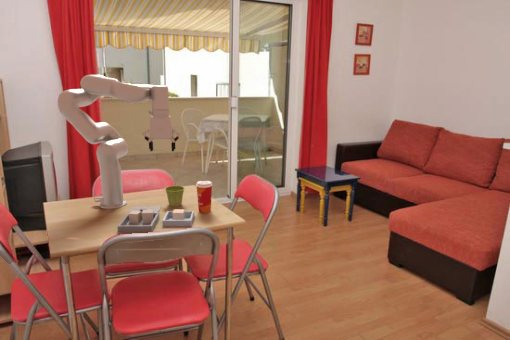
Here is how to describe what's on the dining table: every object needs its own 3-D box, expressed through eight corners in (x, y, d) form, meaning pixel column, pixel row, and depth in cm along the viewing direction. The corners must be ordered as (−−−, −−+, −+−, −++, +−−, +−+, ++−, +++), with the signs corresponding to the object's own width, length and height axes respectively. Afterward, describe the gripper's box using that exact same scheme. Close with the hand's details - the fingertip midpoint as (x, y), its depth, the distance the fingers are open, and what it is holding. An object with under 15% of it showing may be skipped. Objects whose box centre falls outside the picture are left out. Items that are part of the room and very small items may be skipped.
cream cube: (172, 222, 172) (172, 212, 171) (174, 219, 176) (174, 209, 175) (183, 222, 172) (183, 212, 171) (184, 219, 176) (184, 209, 175)
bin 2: (162, 227, 168) (162, 220, 168) (167, 217, 180) (167, 211, 179) (191, 227, 169) (191, 220, 168) (194, 217, 181) (194, 210, 180)
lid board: (124, 218, 178) (124, 214, 178) (132, 208, 192) (132, 204, 191) (155, 218, 179) (155, 214, 178) (161, 207, 192) (161, 204, 192)
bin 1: (118, 233, 162) (117, 226, 161) (128, 219, 177) (128, 212, 177) (152, 233, 162) (151, 226, 162) (159, 219, 178) (159, 212, 177)
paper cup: (197, 208, 192) (196, 180, 189) (213, 208, 193) (212, 180, 189) (196, 214, 184) (195, 184, 181) (212, 213, 185) (212, 184, 182)
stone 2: (142, 223, 171) (142, 213, 170) (143, 219, 175) (142, 209, 174) (153, 222, 172) (152, 212, 171) (154, 218, 176) (153, 209, 175)
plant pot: (187, 202, 201) (186, 185, 199) (182, 208, 192) (181, 191, 190) (169, 201, 202) (168, 185, 200) (163, 208, 192) (162, 190, 190)
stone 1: (129, 222, 172) (128, 213, 171) (133, 219, 176) (132, 210, 175) (138, 223, 171) (137, 214, 170) (141, 219, 175) (141, 211, 174)
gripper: (139, 114, 176) (141, 152, 180) (178, 114, 177) (180, 152, 181) (143, 112, 183) (145, 149, 187) (181, 112, 184) (182, 149, 188)
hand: (162, 150), depth 184 cm, fingers open, 9 cm apart
